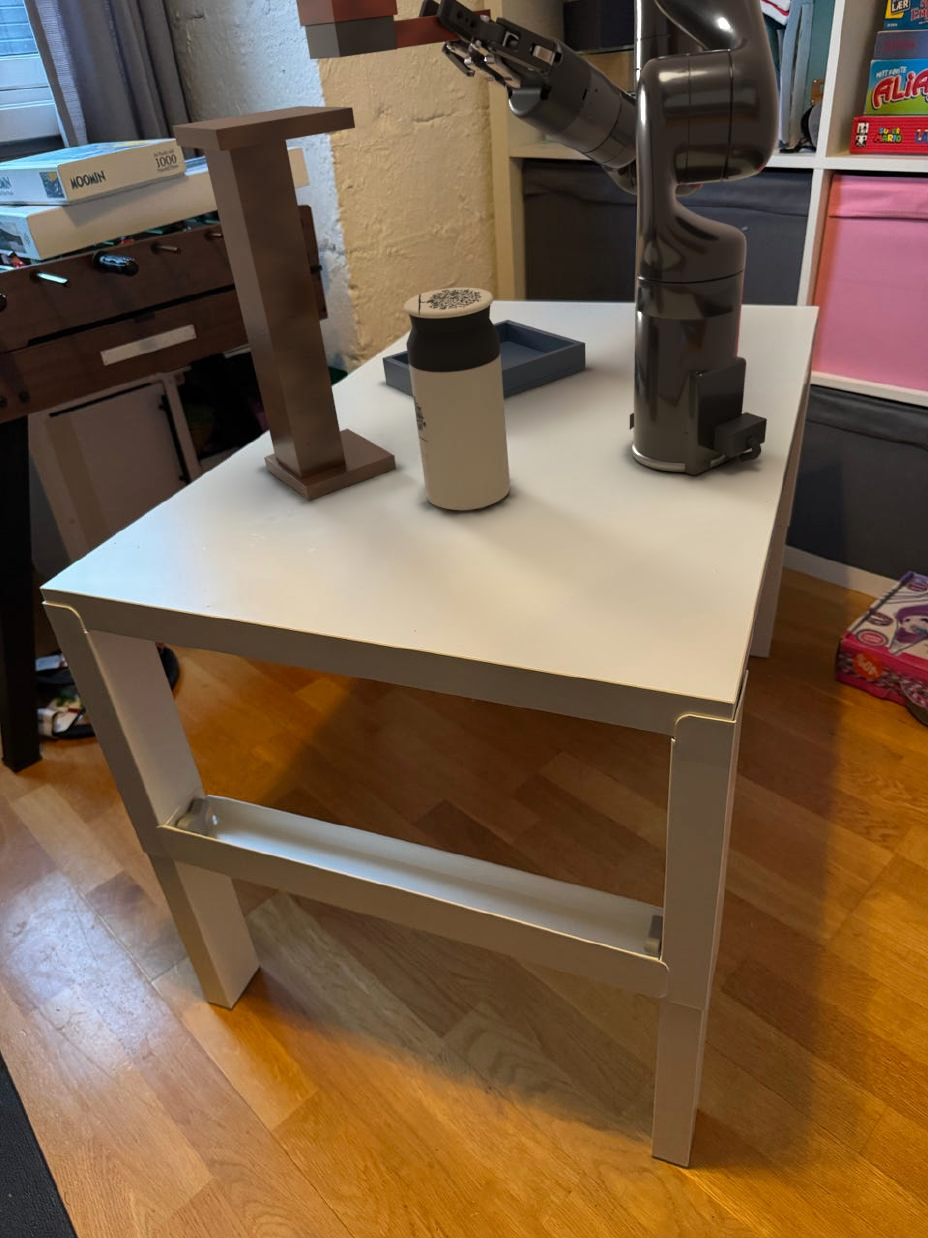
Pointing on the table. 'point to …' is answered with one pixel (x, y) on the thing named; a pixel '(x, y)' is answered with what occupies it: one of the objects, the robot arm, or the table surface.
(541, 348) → the tray
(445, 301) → the travel mug
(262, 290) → the wooden pedestal stand
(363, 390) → the table surface
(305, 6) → the brush
